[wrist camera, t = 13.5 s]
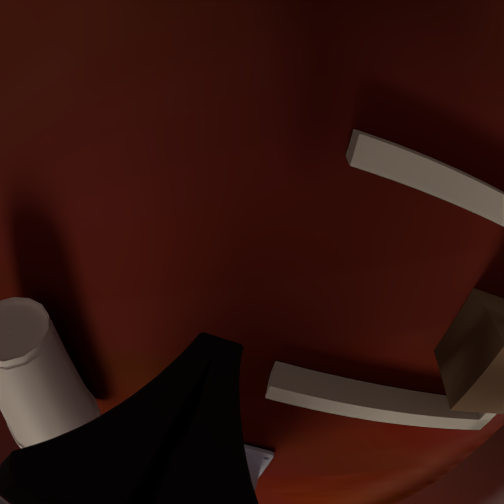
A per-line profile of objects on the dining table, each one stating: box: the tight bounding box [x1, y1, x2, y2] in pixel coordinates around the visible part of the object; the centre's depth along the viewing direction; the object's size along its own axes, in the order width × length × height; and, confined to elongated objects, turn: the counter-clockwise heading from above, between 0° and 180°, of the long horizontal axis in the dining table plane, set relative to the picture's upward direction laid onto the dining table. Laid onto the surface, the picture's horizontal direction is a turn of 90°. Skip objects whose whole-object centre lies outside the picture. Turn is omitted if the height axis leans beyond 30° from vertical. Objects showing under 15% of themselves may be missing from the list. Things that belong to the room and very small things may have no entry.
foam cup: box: [0, 297, 101, 448], centre depth 19 cm, size 10×9×13 cm
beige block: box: [434, 288, 504, 414], centre depth 13 cm, size 4×4×4 cm
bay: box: [265, 129, 504, 430], centre depth 14 cm, size 14×16×2 cm
